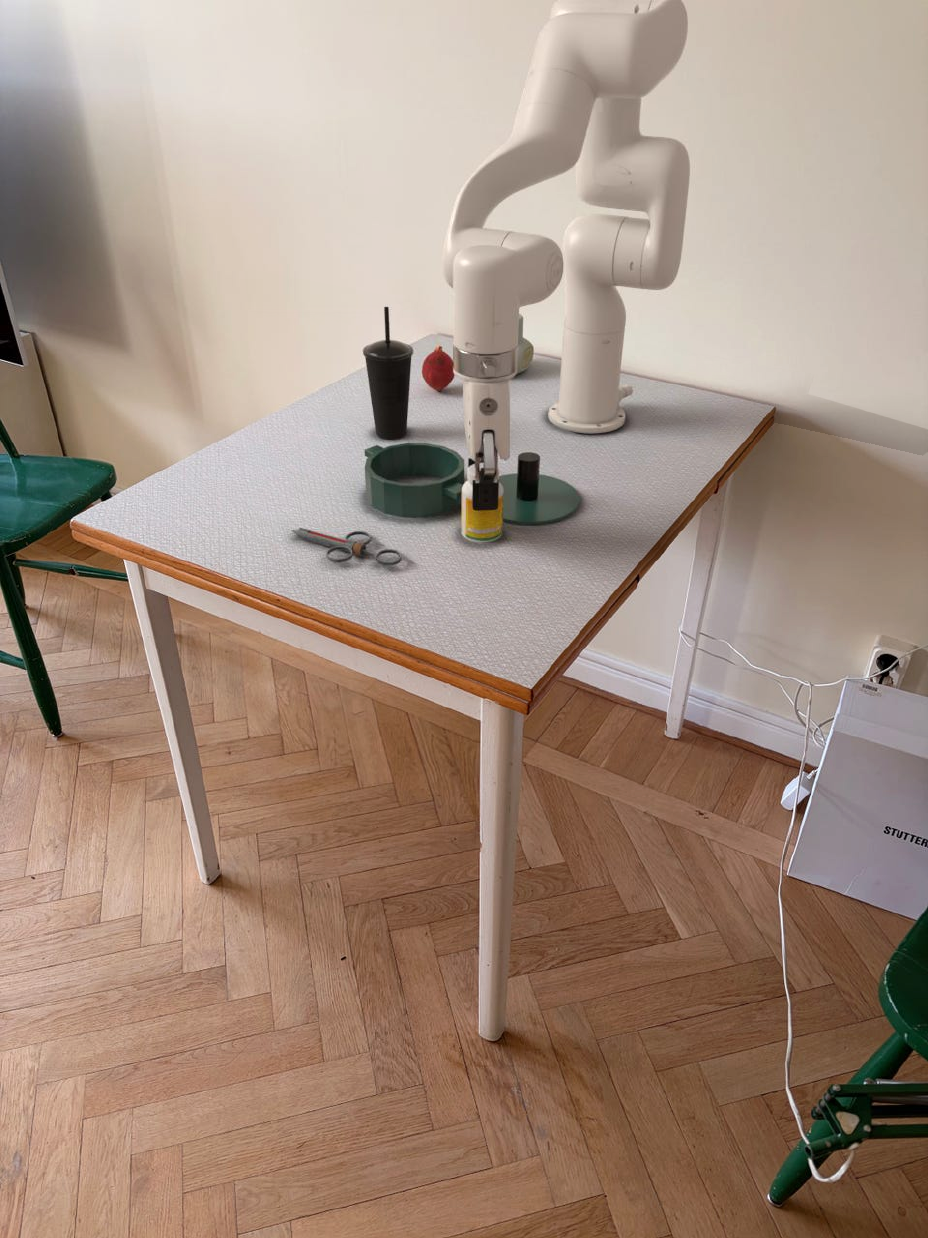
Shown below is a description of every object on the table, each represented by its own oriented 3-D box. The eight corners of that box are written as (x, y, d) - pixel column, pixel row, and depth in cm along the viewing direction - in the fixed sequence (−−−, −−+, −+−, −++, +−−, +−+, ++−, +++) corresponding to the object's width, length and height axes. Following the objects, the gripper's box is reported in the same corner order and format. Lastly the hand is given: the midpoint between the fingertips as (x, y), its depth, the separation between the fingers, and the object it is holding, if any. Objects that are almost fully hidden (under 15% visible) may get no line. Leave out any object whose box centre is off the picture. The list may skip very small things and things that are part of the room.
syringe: (299, 520, 127) (298, 509, 126) (415, 552, 120) (415, 540, 119) (264, 546, 121) (262, 534, 120) (384, 581, 114) (383, 569, 114)
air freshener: (495, 357, 180) (496, 304, 174) (536, 363, 177) (539, 310, 171) (473, 376, 171) (473, 321, 166) (515, 383, 169) (517, 327, 163)
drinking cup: (418, 424, 153) (415, 300, 142) (411, 444, 147) (408, 316, 136) (372, 422, 154) (365, 298, 142) (363, 442, 148) (355, 314, 136)
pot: (406, 461, 142) (405, 429, 139) (497, 504, 131) (499, 470, 128) (335, 490, 134) (332, 456, 131) (426, 538, 123) (425, 502, 120)
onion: (454, 397, 163) (454, 351, 158) (421, 397, 163) (420, 351, 159) (455, 385, 168) (455, 340, 163) (423, 384, 168) (422, 340, 163)
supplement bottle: (454, 530, 125) (454, 464, 119) (490, 522, 127) (492, 456, 121) (472, 549, 121) (473, 482, 115) (509, 540, 123) (511, 473, 117)
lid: (523, 470, 140) (525, 425, 136) (600, 503, 131) (605, 457, 127) (452, 502, 131) (452, 455, 127) (530, 540, 123) (533, 491, 119)
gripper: (527, 385, 103) (520, 529, 114) (508, 335, 117) (504, 467, 128) (458, 387, 103) (458, 532, 113) (448, 336, 117) (448, 469, 127)
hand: (482, 496), depth 120 cm, fingers closed on supplement bottle, 5 cm apart
